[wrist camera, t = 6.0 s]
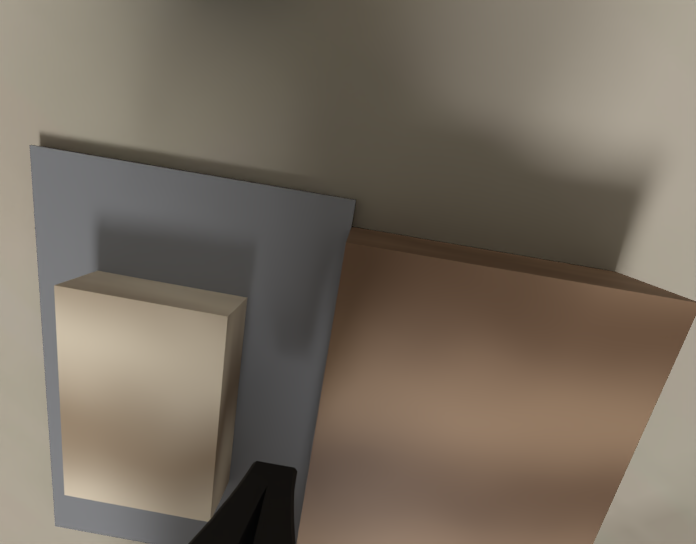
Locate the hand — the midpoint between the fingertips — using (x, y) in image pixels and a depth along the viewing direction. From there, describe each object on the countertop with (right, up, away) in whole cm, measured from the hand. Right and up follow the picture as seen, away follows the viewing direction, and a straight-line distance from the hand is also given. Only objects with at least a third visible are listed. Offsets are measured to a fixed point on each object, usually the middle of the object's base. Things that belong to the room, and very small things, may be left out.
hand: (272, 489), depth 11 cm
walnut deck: (+6, 0, +4) cm, 7 cm away
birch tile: (-5, +2, +2) cm, 6 cm away
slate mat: (-5, +2, +4) cm, 7 cm away
